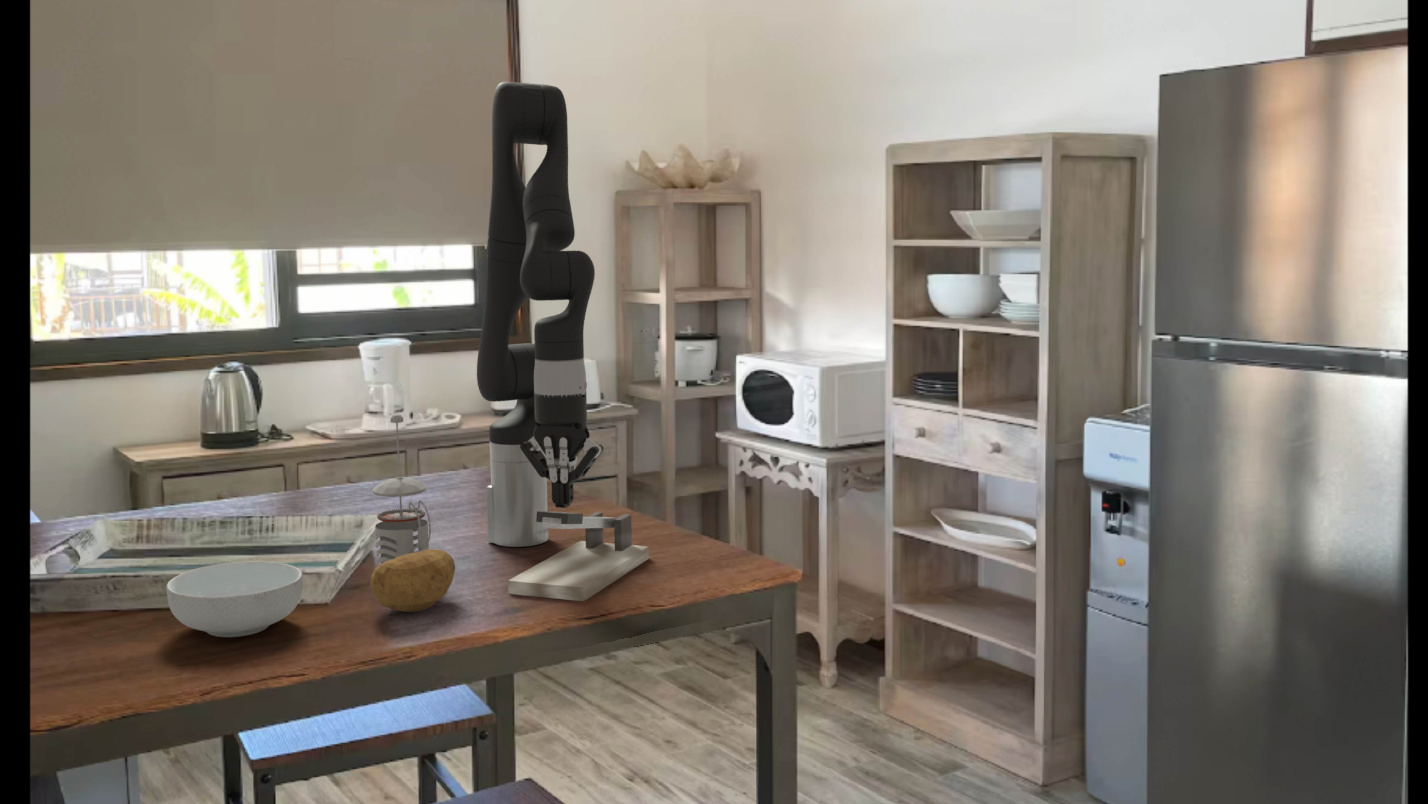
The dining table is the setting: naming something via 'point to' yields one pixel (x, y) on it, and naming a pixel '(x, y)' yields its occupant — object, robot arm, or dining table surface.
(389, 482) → the french press
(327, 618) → the dining table surface
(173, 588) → the cereal bowl
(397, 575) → the potato
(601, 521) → the lever
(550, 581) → the press base
